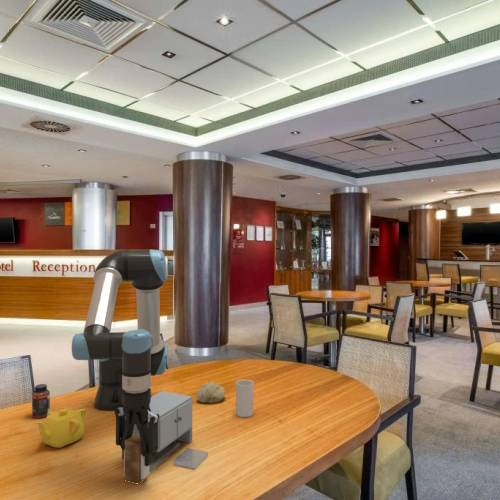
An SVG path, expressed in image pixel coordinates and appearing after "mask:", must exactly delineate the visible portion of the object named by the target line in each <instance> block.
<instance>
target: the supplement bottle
mask: <svg viewBox="0 0 500 500" xmlns="http://www.w3.org/2000/svg"><path fill="white" fill-rule="evenodd" d="M50 394H51V392H50V390H49V389H48V385H47V384H46V383H40V384H37V385H35V386H34V391H33V392H32V395H31V417H32V418H33V419H43V417H44V418H46V417H47V413H48V412H50V411H51V399H50V398H51V395H50Z"/></svg>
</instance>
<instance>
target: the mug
mask: <svg viewBox="0 0 500 500" xmlns="http://www.w3.org/2000/svg"><path fill="white" fill-rule="evenodd" d="M254 389H255V387H254V381H253V380H251V379H238V380H237V381H236V382H235V402H236V403H235V405H236V407H235V408H236V409H235V411H236V412H235V413H236V416H237V417H239V418H249V417H252V416H253V415H254V393H255V392H254Z"/></svg>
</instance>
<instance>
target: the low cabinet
mask: <svg viewBox="0 0 500 500" xmlns="http://www.w3.org/2000/svg"><path fill="white" fill-rule="evenodd" d="M149 406H150V409H151V412H152V413H153V414H155V415H156V414H159V416H160V417H159V420H158V450H156V451H155V452H154V453H157V452H159V451H161V450H162V449H164V448H165V447H166V446H168V445H169V444H170V443H172V442H173V441H177V442H183V443H188V444H191V442H192V443H193V396H192V395H191V396H190V395H187V394H186V395H185V394H179V393H174V392H169V391H162V390H161V391H160V392H157V393H156V394H154V395H151V401H150V405H149ZM125 420H126V416H125ZM148 420H149V418H148ZM142 424H143V423H142ZM148 426H149V424H148ZM134 434H139V430H138V429H137V426H136V424H135V425H134V429H133V434H132V436H133V435H134ZM139 435H140V434H139Z"/></svg>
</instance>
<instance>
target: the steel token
mask: <svg viewBox="0 0 500 500" xmlns="http://www.w3.org/2000/svg"><path fill="white" fill-rule="evenodd" d="M208 457H209V451H205V450H198V449H195V448H190V447H187V448H186V449H185V450H183V451H182V452H181V453H180V454H179V455H178V456H177V457H176V458H175V459H174V460H173V465H174V464H176V465H175V466H177V465H180V466H179V467H181V466H184V467H183V468H186V467H189V468H188V469H190V468H193V469H192V470H196V469H197V468H198V467H199V466H201V464H202V463H203V462H204V461H205V460H206V459H207V458H208Z"/></svg>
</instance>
